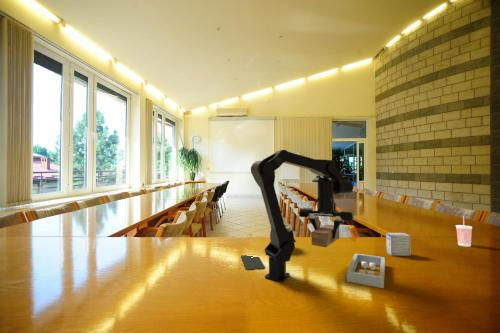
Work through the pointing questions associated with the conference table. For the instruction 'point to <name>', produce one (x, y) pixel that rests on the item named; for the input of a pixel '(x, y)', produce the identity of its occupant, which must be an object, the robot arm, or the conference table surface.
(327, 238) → the brown block
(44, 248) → the conference table surface
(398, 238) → the medicine box
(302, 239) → the conference table surface
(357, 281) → the peg frame
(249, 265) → the phone
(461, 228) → the beverage cup
